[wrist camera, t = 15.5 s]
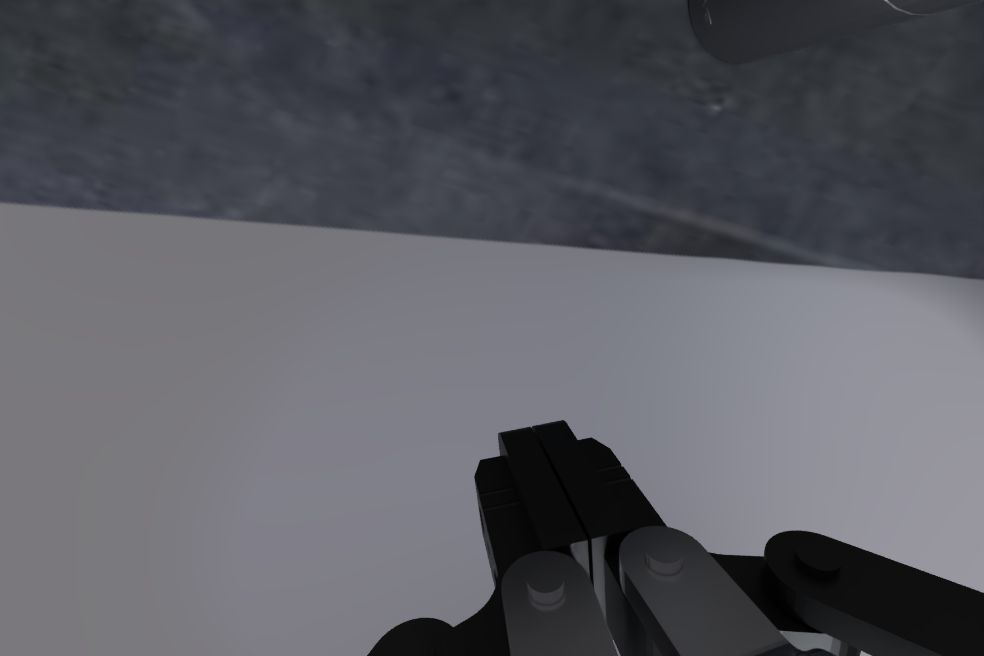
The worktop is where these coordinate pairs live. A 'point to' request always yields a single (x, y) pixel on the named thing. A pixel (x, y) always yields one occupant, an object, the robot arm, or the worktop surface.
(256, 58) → the worktop surface
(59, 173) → the worktop surface
